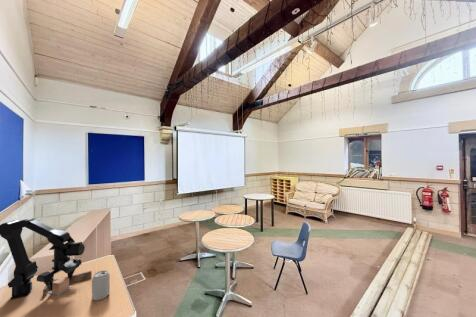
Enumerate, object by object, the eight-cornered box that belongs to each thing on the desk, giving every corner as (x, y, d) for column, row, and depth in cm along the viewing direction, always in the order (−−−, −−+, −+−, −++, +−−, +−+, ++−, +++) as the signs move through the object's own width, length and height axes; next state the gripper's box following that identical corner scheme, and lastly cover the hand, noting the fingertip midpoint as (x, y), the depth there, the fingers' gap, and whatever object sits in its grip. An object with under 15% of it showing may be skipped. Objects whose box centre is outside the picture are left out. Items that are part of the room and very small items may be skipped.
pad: (58, 295, 104) (58, 294, 104) (48, 293, 105) (48, 292, 105) (72, 286, 111) (72, 286, 111) (62, 285, 112) (62, 285, 112)
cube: (51, 292, 106) (52, 282, 106) (62, 286, 111) (62, 277, 111) (59, 293, 105) (59, 283, 105) (69, 287, 110) (69, 278, 110)
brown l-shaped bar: (42, 296, 103) (43, 289, 103) (48, 287, 110) (48, 281, 110) (89, 284, 113) (89, 277, 113) (91, 276, 121) (91, 270, 121)
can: (112, 294, 104) (112, 270, 104) (97, 303, 97) (97, 278, 97) (103, 290, 107) (103, 268, 107) (88, 299, 100) (88, 275, 100)
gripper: (52, 266, 98) (52, 298, 97) (89, 250, 116) (88, 277, 115) (36, 264, 100) (35, 295, 100) (74, 248, 118) (73, 275, 118)
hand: (60, 285), depth 108 cm, fingers open, 9 cm apart
